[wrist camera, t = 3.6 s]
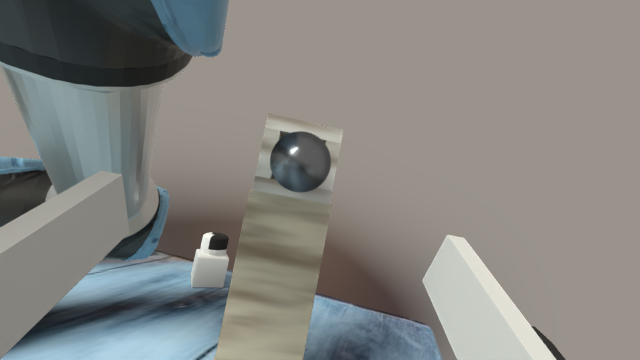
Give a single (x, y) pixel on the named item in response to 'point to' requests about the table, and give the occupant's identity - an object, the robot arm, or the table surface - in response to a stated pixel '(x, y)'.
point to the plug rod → (300, 161)
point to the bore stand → (277, 257)
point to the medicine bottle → (210, 262)
